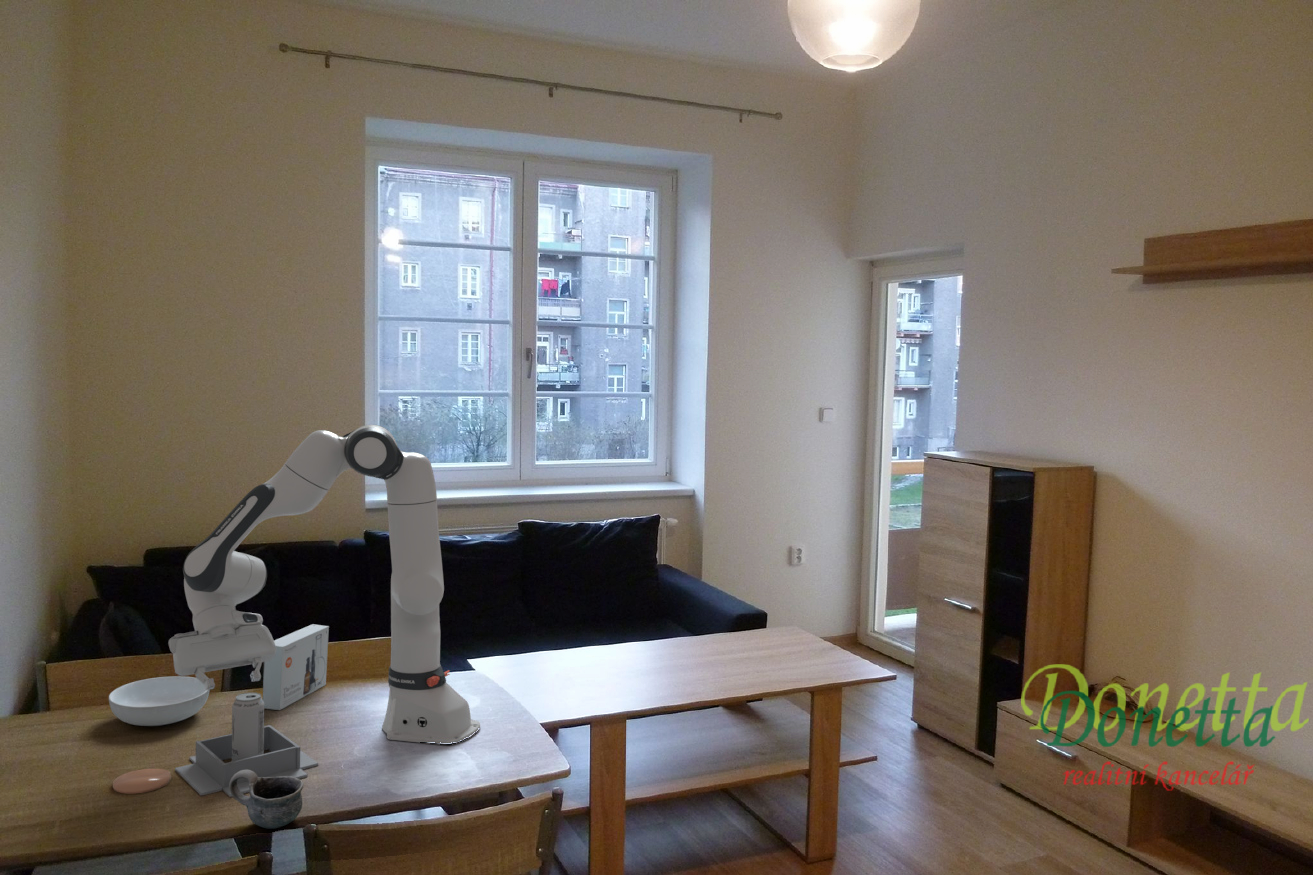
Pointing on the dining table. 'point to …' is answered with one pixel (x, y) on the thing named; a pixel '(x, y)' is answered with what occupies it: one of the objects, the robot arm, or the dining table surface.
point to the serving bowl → (158, 700)
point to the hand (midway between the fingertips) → (234, 684)
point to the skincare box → (296, 667)
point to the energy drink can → (247, 726)
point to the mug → (269, 798)
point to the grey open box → (243, 763)
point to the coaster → (141, 781)
